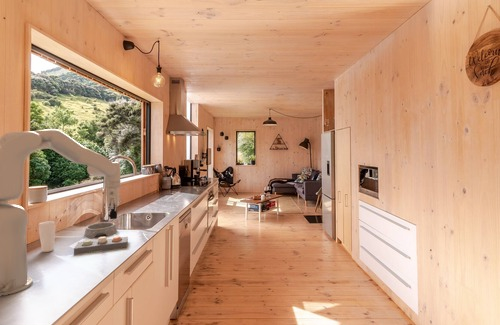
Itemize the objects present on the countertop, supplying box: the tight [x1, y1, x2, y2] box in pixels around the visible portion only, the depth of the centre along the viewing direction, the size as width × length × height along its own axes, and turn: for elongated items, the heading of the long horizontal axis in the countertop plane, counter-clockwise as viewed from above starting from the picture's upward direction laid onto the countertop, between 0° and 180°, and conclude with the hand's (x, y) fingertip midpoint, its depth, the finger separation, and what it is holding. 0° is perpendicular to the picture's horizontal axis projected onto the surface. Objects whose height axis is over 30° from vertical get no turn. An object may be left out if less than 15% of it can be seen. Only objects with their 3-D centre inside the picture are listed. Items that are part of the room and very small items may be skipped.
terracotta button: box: [112, 236, 121, 242], centre depth 144 cm, size 4×4×3 cm
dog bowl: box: [83, 221, 118, 239], centre depth 168 cm, size 17×18×5 cm
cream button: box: [97, 236, 108, 244], centre depth 142 cm, size 4×4×3 cm
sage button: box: [82, 239, 93, 246], centre depth 139 cm, size 4×4×3 cm
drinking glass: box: [38, 220, 56, 253], centre depth 138 cm, size 7×7×15 cm
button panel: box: [73, 236, 129, 255], centre depth 142 cm, size 10×24×3 cm, turn 112°
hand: (113, 218), depth 143 cm, fingers closed
